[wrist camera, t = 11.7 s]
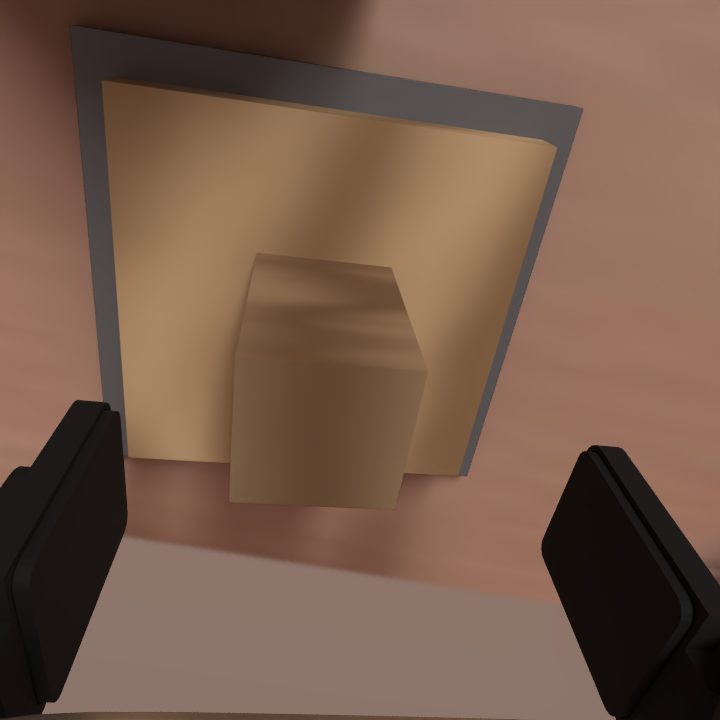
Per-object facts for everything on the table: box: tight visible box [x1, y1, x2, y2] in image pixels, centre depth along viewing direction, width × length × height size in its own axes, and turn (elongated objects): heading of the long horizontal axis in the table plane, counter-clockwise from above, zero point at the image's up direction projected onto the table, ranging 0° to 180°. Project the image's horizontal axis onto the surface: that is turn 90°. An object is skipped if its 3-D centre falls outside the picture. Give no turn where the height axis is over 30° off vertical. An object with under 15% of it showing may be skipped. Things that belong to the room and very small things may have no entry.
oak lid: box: [102, 76, 557, 510], centre depth 16 cm, size 12×12×7 cm
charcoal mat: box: [70, 25, 583, 476], centre depth 19 cm, size 14×14×1 cm
